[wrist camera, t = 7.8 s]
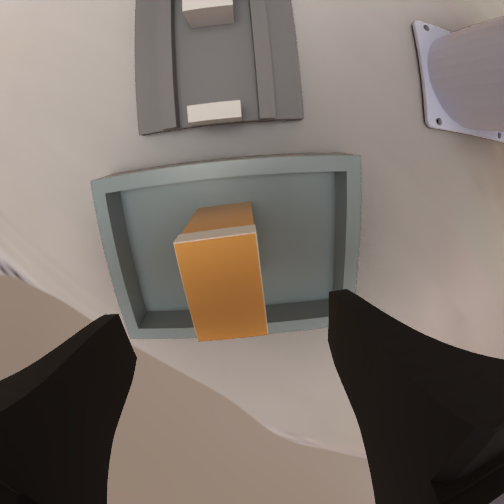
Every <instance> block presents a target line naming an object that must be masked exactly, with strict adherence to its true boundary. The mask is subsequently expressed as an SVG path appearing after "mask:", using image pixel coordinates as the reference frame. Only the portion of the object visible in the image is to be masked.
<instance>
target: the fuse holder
mask: <svg viewBox="0 0 504 504" xmlns="http://www.w3.org/2000/svg"><path fill="white" fill-rule="evenodd" d="M135 82H136V102H137V117H138V129H139V135H149V134H154V133H160V132H166V131H172V130H179V129H186V128H193V127H201V126H209V125H219V124H229V123H241V122H255V121H273V120H301V119H303V118H304V117H303V104H302V91H301V80H300V69H299V60H298V50H297V42H296V33H295V25H294V18H293V10H292V3H291V0H136V9H135Z"/></svg>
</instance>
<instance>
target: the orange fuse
mask: <svg viewBox="0 0 504 504" xmlns="http://www.w3.org/2000/svg"><path fill="white" fill-rule="evenodd" d="M173 244H174V249H175V253H176V257H177V262H178V266H179V270H180V275H181V279H182V283H183V287H184V291H185V295H186V299H187V303H188V306H189V310H190V314H191V318H192V321H193V325H194V328H195V332H196V336H197V339H198V341H212V340H223V339H234V338H244V337H253V336H261V335H267V334H268V325H267V317H266V308H265V299H264V291H263V283H262V274H261V266H260V258H259V249H258V241H257V233H256V226H255V224H254V221H253V214H252V206H251V201H247V202H240V203H232V204H225V205H217V206H210V207H203V208H198V209H197V210H196V212H195V213H194V215H193V216H192V218H191V219H190V221H189V222H188V224H187V225H186V227H185V229H184V230H183V232H182V233H181V234H179V235H178V236H177V238H176V239H175V241H174V242H173Z"/></svg>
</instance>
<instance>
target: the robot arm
mask: <svg viewBox="0 0 504 504" xmlns="http://www.w3.org/2000/svg"><path fill="white" fill-rule="evenodd" d="M412 26H413V31H414V36H415V41H416V46H417V52H418V58H419V65H420V72H421V80H422V89H423V99H424V113H425V123H426V125H427V126H428V127H430V128H434V129H441V130H447V131H452V132H458V133H463V134H468V135H473V136H478V137H482V138H486V139H491V140H495V141H499V142H502V143H504V16H503V17H499V18H495V19H492V20H488V21H485V22H482V23H479V24H476V25H472V26H469V27H467V28H464V29H461V30H458V31H455V32H450V31H448V30H445V29H442V28H440V27H437V26H434V25H431V24H428V23H425V22H422V21H418V20H417V21H415V22H413V24H412ZM424 27H425V28H426V30H425V29H424ZM436 119H438V122H439V123H438V124H437V123H436ZM328 342H329V346H330V350H331V354H332V357H333V361H334V364H335V367H336V369H337V372H338V374H339V377H340V379H341V382H342V384H343V386H344V389H345V391H346V394H347V396H348V398H349V401H350V403H351V406H352V408H353V410H354V413H355V415H356V418H357V421H358V424H359V427H360V431H361V434H362V438H363V442H364V446H365V450H366V455H367V459H368V464H369V468H370V472H371V479H372V484H373V489H374V496H375V503H376V504H504V360H503V359H498V358H493V357H488V356H484V355H480V354H476V353H473V352H469V351H466V350H463V349H460V348H457V347H454V346H451V345H448V344H446V343H443V342H441V341H438V340H436V339H434V338H431V337H429V336H427V335H425V334H422V333H420V332H418V331H416V330H414V329H412V328H411V327H409V326H407V325H405V324H403V323H401V322H399V321H398V320H396V319H394V318H393V317H391V316H389V315H388V314H386V313H384V312H383V311H381V310H379V309H378V308H376V307H375V306H373V305H372V304H370V303H369V302H367V301H365V300H364V299H362V298H361V297H359V296H358V295H356V294H355V293H353V292H351V291H350V290H348V289H343V290H337V291H330V292H329V324H328ZM136 360H137V357H136V355H135V353H134V351H133V348H132V346H131V343H130V341H129V339H128V336H127V334H126V332H125V329H124V327H123V324H122V322H121V319H120V317H119V314H110V315H103V316H101V317H99V318H98V319H96V320H95V321H93V322H92V323H90V324H89V325H87V326H86V327H84V328H83V329H82V330H80V331H79V332H77V333H76V334H75V335H73V336H72V337H71V338H69V339H68V340H66V341H65V342H64V343H62V344H61V345H60V346H58V347H57V348H55V349H54V350H53V351H51V352H49V353H48V354H47V355H45V356H44V357H42V358H41V359H39V360H38V361H36V362H35V363H33V364H31V365H30V366H28V367H26V368H24V369H23V370H21V371H19V372H17V373H15V374H13V375H11V376H9V377H7V378H5V379H3V380H1V381H0V504H107V479H108V469H109V460H110V454H111V448H112V443H113V438H114V434H115V430H116V427H117V424H118V421H119V418H120V415H121V412H122V409H123V406H124V404H125V401H126V398H127V395H128V392H129V389H130V386H131V383H132V380H133V375H134V371H135V366H136Z"/></svg>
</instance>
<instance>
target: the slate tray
mask: <svg viewBox="0 0 504 504" xmlns="http://www.w3.org/2000/svg"><path fill="white" fill-rule="evenodd" d="M90 182H91V188H92V194H93V200H94V206H95V211H96V216H97V221H98V226H99V231H100V235H101V240H102V244H103V248H104V253H105V257H106V261H107V264H108V268H109V272H110V276H111V279H112V283H113V286H114V290H115V293H116V296H117V300H118V303H119V306H120V309H121V312H122V315H123V318H124V321H125V324H126V327H127V330H128V333H129V336H130V339H178V338H197V336H196V332H195V328H194V325H193V321H192V318H191V314H190V310H189V306H188V303H187V299H186V295H185V291H184V287H183V283H182V279H181V275H180V270H179V266H178V262H177V257H176V253H175V249H174V244H173V242H174V241H175V239H176V238H177V236H178V235H179V234H181V233H182V232H183V230H184V229H185V227H186V225H187V224H188V222H189V221H190V219H191V218H192V216H193V215H194V213H195V212H196V210H197V209H198V208H203V207H210V206H217V205H225V204H232V203H240V202H247V201H251V206H252V214H253V221H254V224H255V226H256V233H257V241H258V249H259V258H260V266H261V274H262V283H263V291H264V299H265V308H266V317H267V325H268V334H271V333H281V332H291V331H301V330H310V329H318V328H326V327H328V324H329V292H330V291H337V290H343V289H348V290H350V291H351V292H353V293H355V290H356V280H357V269H358V256H359V240H360V217H361V156H360V155H353V154H347V153H301V154H277V155H259V156H245V157H233V158H222V159H212V160H203V161H195V162H186V163H179V164H171V165H164V166H158V167H151V168H145V169H139V170H133V171H128V172H122V173H117V174H112V175H108V176H105V177H102V178H99V179H96V180H93V181H90Z"/></svg>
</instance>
